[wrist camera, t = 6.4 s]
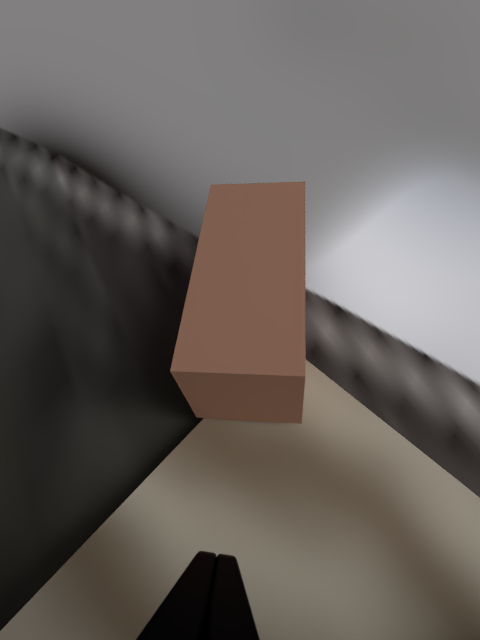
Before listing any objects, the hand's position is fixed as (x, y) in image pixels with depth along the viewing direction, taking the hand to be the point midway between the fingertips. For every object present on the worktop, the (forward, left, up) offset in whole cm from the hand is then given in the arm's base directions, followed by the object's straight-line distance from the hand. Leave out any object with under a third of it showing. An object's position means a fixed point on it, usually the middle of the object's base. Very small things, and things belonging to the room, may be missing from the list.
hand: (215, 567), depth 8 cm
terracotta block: (+4, +3, -4) cm, 6 cm away
